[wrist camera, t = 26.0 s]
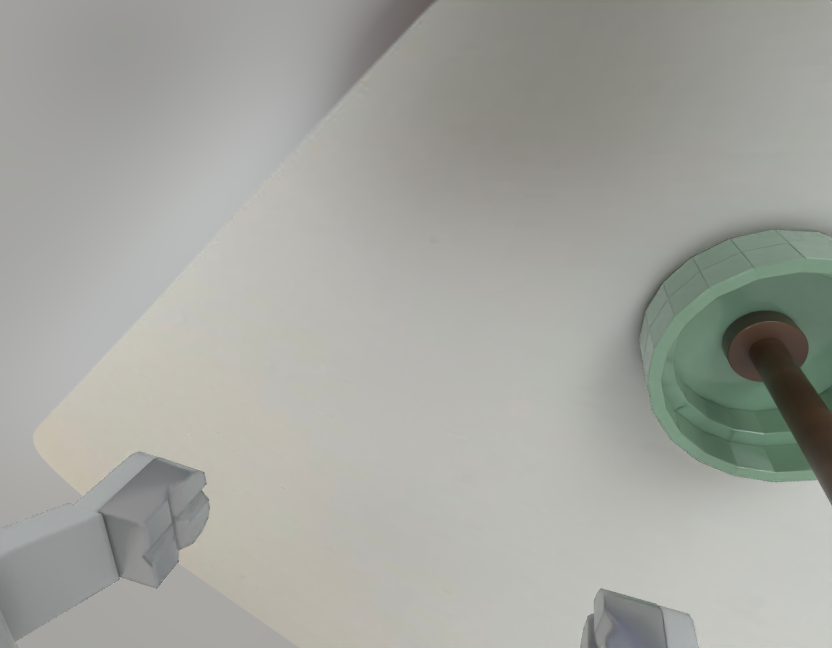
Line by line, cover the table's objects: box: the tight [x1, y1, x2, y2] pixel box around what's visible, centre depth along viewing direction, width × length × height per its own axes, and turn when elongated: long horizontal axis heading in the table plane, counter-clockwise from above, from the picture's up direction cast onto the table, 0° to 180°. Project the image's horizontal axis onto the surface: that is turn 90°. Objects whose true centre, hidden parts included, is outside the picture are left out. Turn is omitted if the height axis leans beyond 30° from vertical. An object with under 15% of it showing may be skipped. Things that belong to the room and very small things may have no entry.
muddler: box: [722, 311, 832, 505], centre depth 27 cm, size 4×4×17 cm
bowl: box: [639, 230, 832, 482], centre depth 33 cm, size 15×15×6 cm
